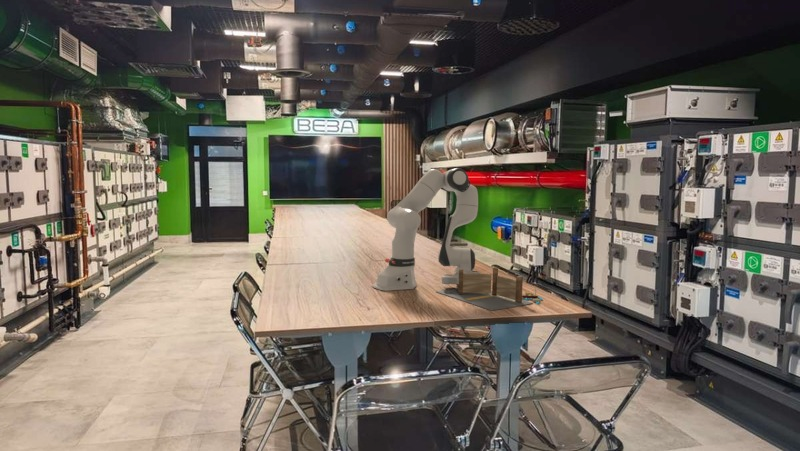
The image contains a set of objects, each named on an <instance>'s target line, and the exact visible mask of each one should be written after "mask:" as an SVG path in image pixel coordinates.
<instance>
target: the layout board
mask: <svg viewBox="0 0 800 451" xmlns="http://www.w3.org/2000/svg"><path fill="white" fill-rule="evenodd" d="M435 293H436V294H440V295H443V296H446V297H450V298H451V299H455V300H459V301H461V302H464V303H467V304H469V305H472V306H475V307H479V308H481V309H485V310H487V311H491V312H495V311H500V309H501V310H507V309H512V308H517V306H518V307H523V306H522V305H524V306H528V305H533V304H534V303H533V302H532V301H529V300H525V299H522V303H517V302H515V300H512V299H508V298H505V297H502V296H498V295H497V296H493V295H492V290H491V294H489V293H458V288H457V287H456V288H449V289H443V290H436V291H435ZM494 310H495V311H494Z"/></svg>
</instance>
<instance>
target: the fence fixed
mask: <svg viewBox="0 0 800 451" xmlns="http://www.w3.org/2000/svg"><path fill="white" fill-rule="evenodd" d="M523 279H524V276H522V275H516V276H515V279H514V278H509V277H507V276H503V275H499V268H496V267H493V268H492V280H491V291H492V295H493V296H497V295H498V296H502V297H505V298H508V299H512V300H515V302H517V303H522V300H523V298H522V296H523V282H524V280H523Z"/></svg>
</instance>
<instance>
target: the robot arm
mask: <svg viewBox="0 0 800 451" xmlns="http://www.w3.org/2000/svg"><path fill="white" fill-rule="evenodd" d="M439 191H445V192H449V193H452V192H454V194H455V196H456V206H455V210H454V212H453V214H451V215H450V216H449V217H448V219H447V224H446V225H445V226H446V227H445V231H444V234H443V238H442V242H441V246H440V249H439V252H438V256H437V260H438V263H439V264H440V265H441V266H443V267H456V268H455V270H454V273H453V274H449V273H447V274H442V276H441V284H443V285H456V286H459V269H463V273H476V274H482V273H481V271H479V270H478V271H477V270H475V265H476V253H475V252H474V250H473V249H472V248H470V247H455V246H451V241H452V236H453V233H454V231H455V229H457V228H458V227H461V226H464V225H467V224H470V223H472V222H473V221H474V220H476V218H477V216H478V211H479V192H478V189H477V187H476V186H474V185H473V184H471V181H470V179H469V176H468V174H467V171H466V170H464V169H463V168H459V167H456V168H452V169H449V170H448V169H447V171H445V172H442V171H441V170H438V169H436V168H430V169H429V170H427V172H425V173H424V174H423V176H422V177H421V178H419V180H418V181H417V183H415V185H414V186H413V188H411V190H410V192H409V193H408V194H407V195H406V196H405V197H403V199H402V200H400V201H399V203H397V204H396V205H395V206H394V207H393V208H391V209H389V211H388V212H387V215H386V220H387V222H388V224H389V225H390V226H391V227H392V228H394V229H395V233H394V237H393V240H392V242H391V257H390V258H387V257H386V258H384V262H385V263H387V264H388V265H387V266H386V267H385V268H384V269H383V270H381V271H380V272H379V273H378V275H377V276H376V282H375V283H372V284H371V286H372V287H373V288H375V289H377V290H378V291H379V290H380V291H385V292H389V291H401V290H414V289H415V288H416V287H417V285H418V284H417V281H416V276H415V264H416V261H415V260H416V258H415V240H416V235H417V232H418V229H419V227H420V226H421V223H422V218H421V215H420V214H419V213H420V212H421V211H423V210H424V209H426V208H427V207H428V205H429V204H431V202H432V200H434V198H435V197H436V195H437V193H438V192H439Z"/></svg>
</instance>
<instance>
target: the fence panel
mask: <svg viewBox="0 0 800 451" xmlns="http://www.w3.org/2000/svg"><path fill="white" fill-rule="evenodd" d="M492 279H493V273H481V274H476V273H463V269H459V286H458V285H457V286H458V293H489V294H491V291H492Z"/></svg>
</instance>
